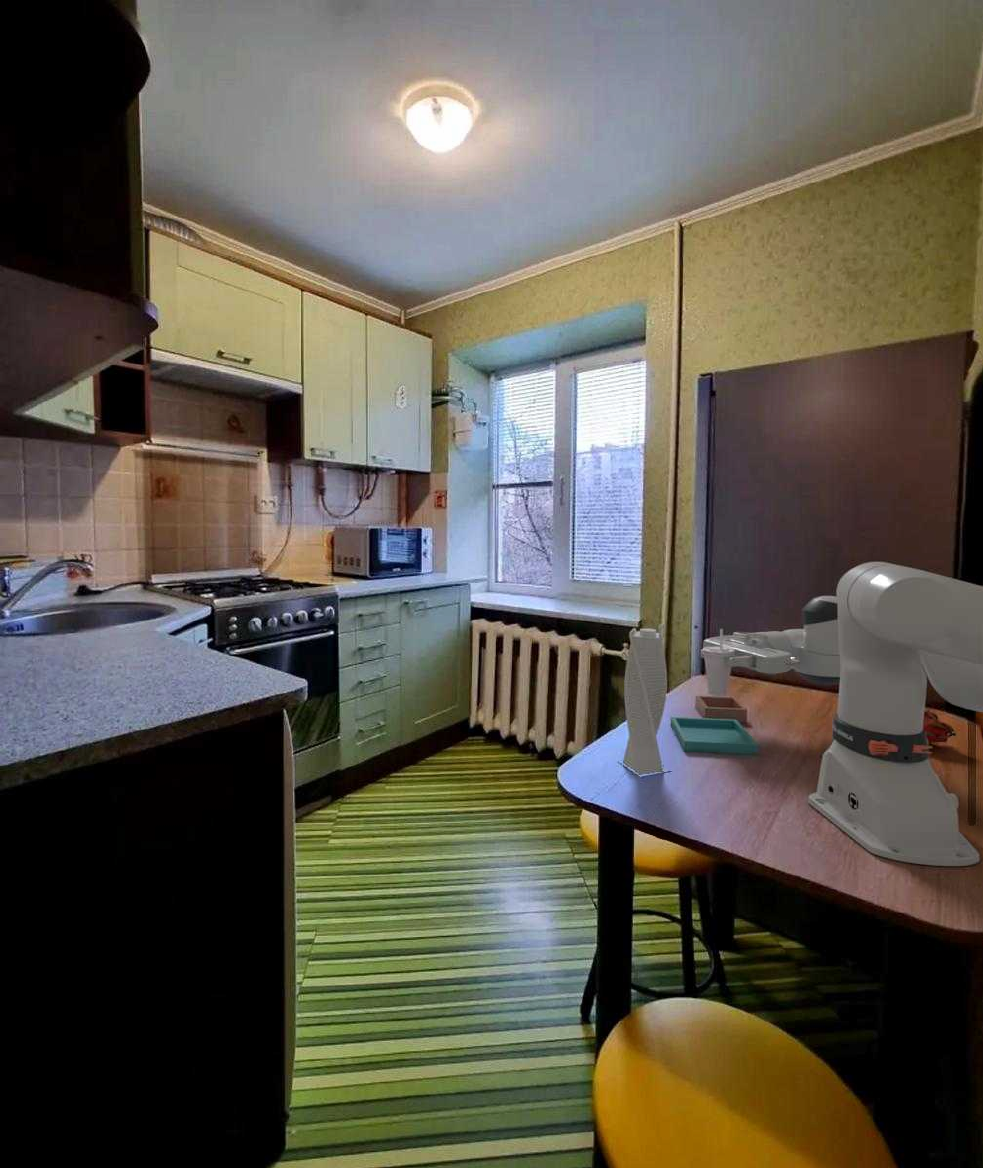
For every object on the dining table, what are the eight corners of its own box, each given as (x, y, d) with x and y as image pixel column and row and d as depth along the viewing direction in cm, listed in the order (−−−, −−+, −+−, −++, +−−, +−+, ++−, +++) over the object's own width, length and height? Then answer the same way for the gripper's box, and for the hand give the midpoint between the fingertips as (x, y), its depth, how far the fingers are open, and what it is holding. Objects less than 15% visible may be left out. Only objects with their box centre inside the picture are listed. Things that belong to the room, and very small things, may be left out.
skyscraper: (676, 776, 101) (683, 623, 98) (639, 783, 98) (645, 626, 95) (647, 757, 109) (652, 615, 106) (612, 764, 106) (616, 618, 103)
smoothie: (739, 697, 117) (740, 631, 116) (708, 698, 117) (709, 632, 116) (726, 688, 124) (727, 626, 122) (697, 689, 123) (698, 627, 122)
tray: (757, 755, 109) (758, 744, 109) (683, 751, 111) (684, 741, 111) (735, 728, 123) (736, 719, 123) (670, 725, 125) (670, 716, 125)
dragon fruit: (877, 739, 122) (946, 764, 113) (875, 726, 116) (947, 751, 107) (891, 705, 123) (960, 727, 115) (889, 690, 118) (962, 712, 109)
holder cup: (746, 722, 127) (747, 709, 127) (704, 720, 128) (705, 707, 128) (734, 709, 136) (734, 697, 136) (695, 707, 137) (695, 695, 137)
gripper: (805, 677, 114) (751, 685, 110) (732, 656, 133) (684, 662, 129) (806, 647, 114) (752, 653, 109) (733, 630, 133) (684, 635, 128)
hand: (714, 658), depth 119 cm, fingers closed on smoothie, 6 cm apart
